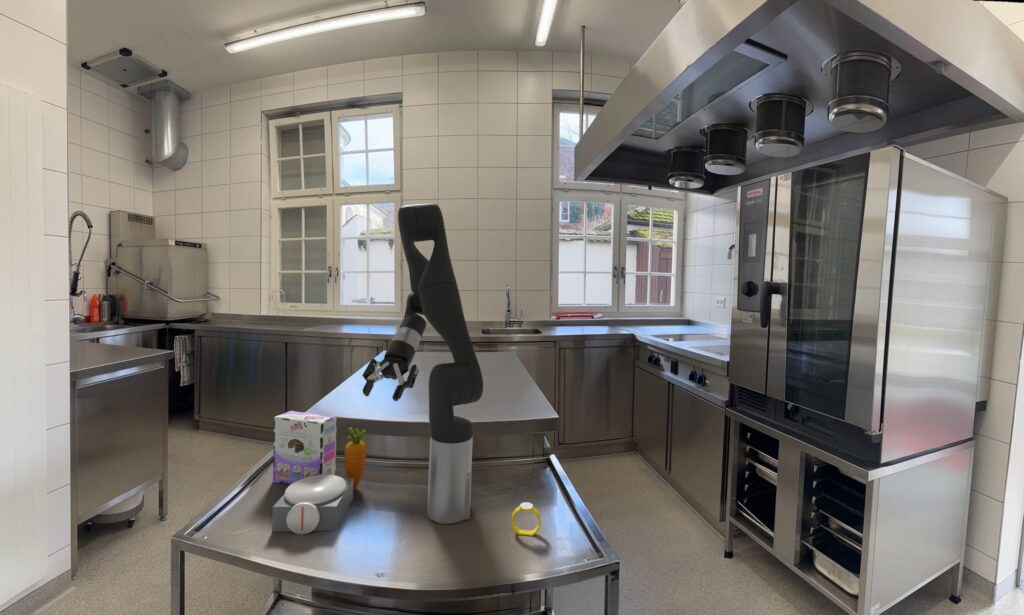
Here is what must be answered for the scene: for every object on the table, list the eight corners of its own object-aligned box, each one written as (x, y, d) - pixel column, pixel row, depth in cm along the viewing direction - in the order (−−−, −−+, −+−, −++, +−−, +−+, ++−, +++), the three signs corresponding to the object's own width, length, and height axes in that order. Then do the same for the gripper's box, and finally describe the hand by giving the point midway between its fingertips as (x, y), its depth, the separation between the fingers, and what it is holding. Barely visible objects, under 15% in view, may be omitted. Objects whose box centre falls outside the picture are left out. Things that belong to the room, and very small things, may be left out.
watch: (511, 537, 82) (510, 508, 81) (512, 529, 84) (511, 501, 84) (540, 538, 81) (540, 509, 81) (541, 530, 84) (540, 502, 84)
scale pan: (352, 478, 92) (352, 474, 92) (335, 505, 80) (335, 501, 80) (298, 478, 91) (298, 474, 91) (274, 506, 79) (274, 502, 79)
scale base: (352, 499, 92) (353, 473, 92) (333, 534, 79) (334, 504, 79) (297, 499, 91) (298, 473, 91) (269, 535, 78) (269, 505, 78)
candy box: (336, 480, 101) (338, 415, 100) (320, 491, 95) (322, 422, 95) (289, 472, 104) (291, 409, 103) (271, 482, 98) (272, 416, 98)
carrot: (369, 486, 99) (371, 426, 98) (354, 495, 94) (356, 432, 93) (354, 481, 101) (356, 422, 100) (338, 490, 96) (340, 428, 95)
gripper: (376, 336, 114) (350, 386, 104) (422, 342, 111) (399, 394, 101) (385, 351, 120) (361, 400, 110) (429, 357, 117) (408, 408, 107)
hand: (379, 397), depth 106 cm, fingers open, 8 cm apart
